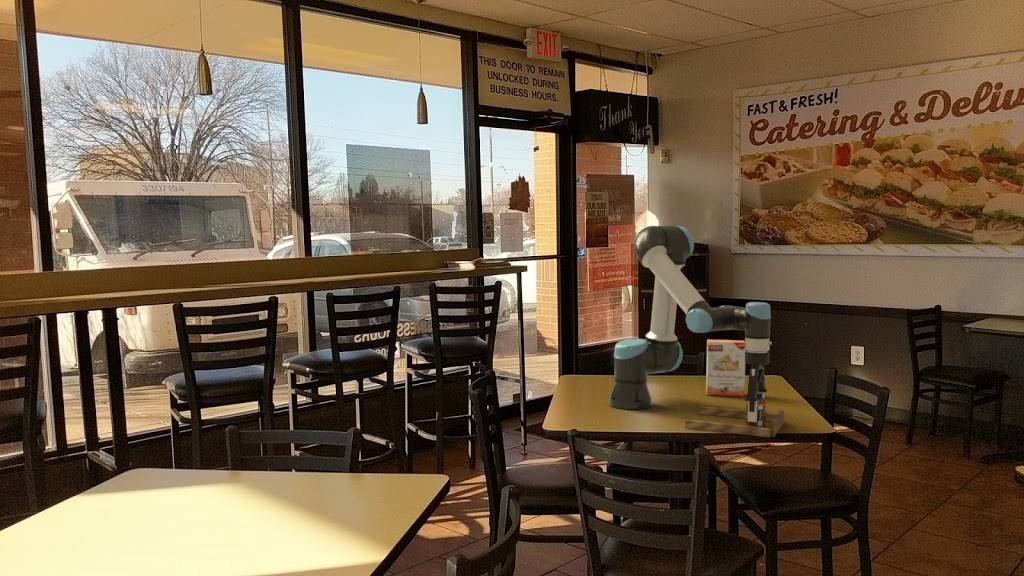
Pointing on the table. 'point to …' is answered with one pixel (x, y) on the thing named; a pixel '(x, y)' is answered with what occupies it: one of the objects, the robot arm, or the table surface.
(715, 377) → the cracker box
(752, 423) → the supplement bottle
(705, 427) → the bay
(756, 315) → the robot arm
